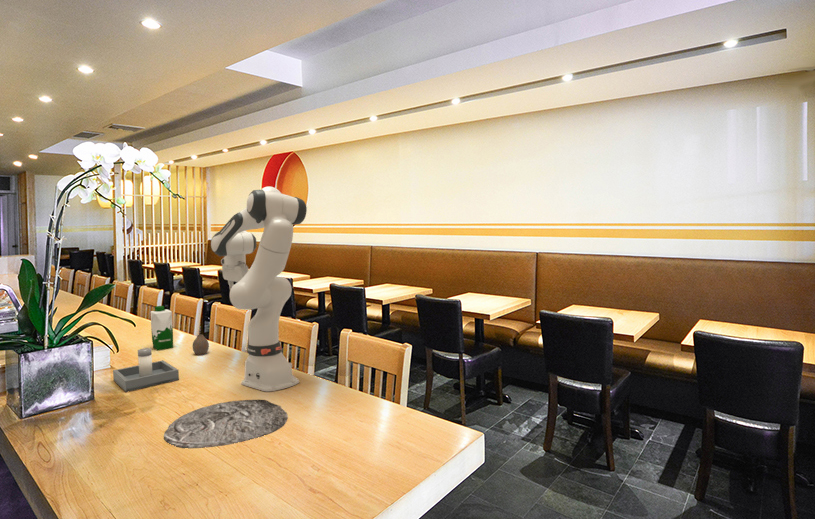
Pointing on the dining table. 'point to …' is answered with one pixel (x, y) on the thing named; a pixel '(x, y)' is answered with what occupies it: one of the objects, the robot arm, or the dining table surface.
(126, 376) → the tray
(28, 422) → the dining table surface
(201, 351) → the vase
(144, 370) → the shaker
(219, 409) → the worn metal disc
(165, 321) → the milk carton
